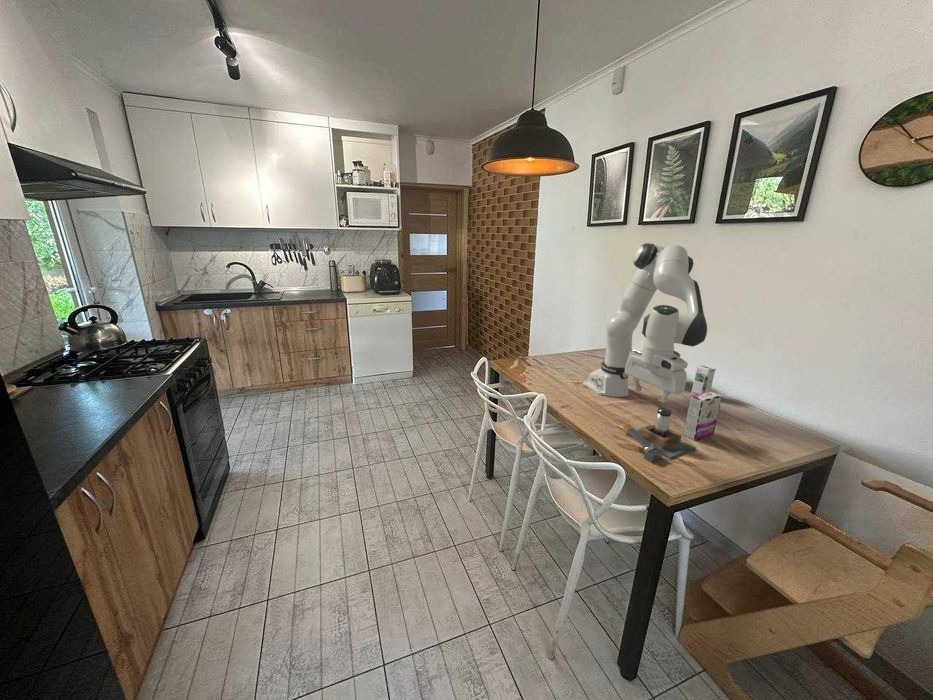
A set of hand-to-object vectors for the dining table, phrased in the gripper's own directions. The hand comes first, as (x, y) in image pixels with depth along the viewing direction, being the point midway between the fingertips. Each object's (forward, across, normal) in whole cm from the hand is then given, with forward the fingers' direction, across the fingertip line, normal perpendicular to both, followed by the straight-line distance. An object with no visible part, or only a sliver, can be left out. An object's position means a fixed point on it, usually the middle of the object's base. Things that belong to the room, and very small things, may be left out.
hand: (649, 395), depth 121 cm
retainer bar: (+18, +3, 0) cm, 18 cm away
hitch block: (+21, -1, +12) cm, 24 cm away
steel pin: (+20, -2, +12) cm, 24 cm away
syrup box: (+21, -22, +68) cm, 74 cm away
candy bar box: (+21, +1, +30) cm, 37 cm away
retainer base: (+21, +5, 0) cm, 22 cm away
